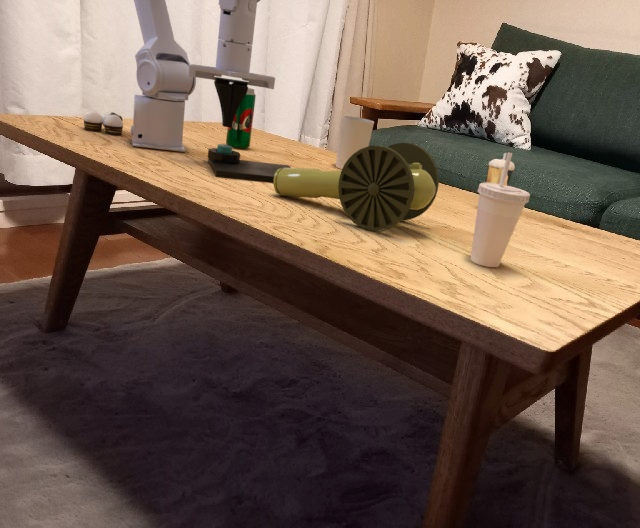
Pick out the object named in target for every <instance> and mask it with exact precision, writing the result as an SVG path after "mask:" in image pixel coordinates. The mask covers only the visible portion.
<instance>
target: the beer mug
mask: <svg viewBox="0 0 640 528" xmlns="http://www.w3.org/2000/svg"><path fill="white" fill-rule="evenodd" d="M507 154H508V152H504V153H503V157H502V159H498V158H494V159H491V160H490V161H489V162H488V166H487V172H486V179H485V183H495V184H500V180H501V176H502V173H503V169H504V165H505V162H506V158H507ZM515 169H516V165H515V163H514V162H513V161H512V160H511V161H510V165H509V168H508V172H507V176H506V179H505V183H504V185H507V186H509V184H510V182H511V180H512V178H513V177H512V176H513V174H514V171H515Z"/></svg>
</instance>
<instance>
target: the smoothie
mask: <svg viewBox="0 0 640 528" xmlns="http://www.w3.org/2000/svg"><path fill="white" fill-rule="evenodd" d="M512 157H513V152H507V155H506V159H505V160H506V162H505V165H504V169H503V173H502V176H501V180H500V184H495V183H486V182H480V183H479V185H478V189H477V193H478V194H479V195H478V201H477V208H476V215H475V222H474V223H475V224H474V229H473V231H474V232H473V238H472V245H471V252H470V254H471V255H470V261H471V262H472V263H474V264H476V265H479V266H483V267H488V268H498V267H499V266H500V264H501V261H502V259H503V256H504V255H505V253H506V251H507V248H508V245H509V243H510V241H511V239H512V236H513V234H514V231H515V229H516V227H517V224H518V222H519V220H520V217H521V215H522V212H523V210H524V208H525V205H526V204H528V203H529V202H530V197H531V194H530V192H528V191H526V190H524V189H521V188H518V187H515V186H510V185H508V186H507V185H504V183H505V179H506V176H507V172H508V168H509V165H510V161H511V162H512Z"/></svg>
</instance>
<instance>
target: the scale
mask: <svg viewBox="0 0 640 528" xmlns="http://www.w3.org/2000/svg"><path fill="white" fill-rule="evenodd" d="M207 163H208V165H209V166H210V168H211V170H212V172H213V173H214V175H215V177H217V178H227V179H236V180H245V181H246V180H247V181H254V182H255V181H256V182H267V183H273V182H274V175H275V173H276V171H277V170H278V169H283V168H292V167H291V166H290V165H288V164H280V163H272V162H271V163H270V162H264V161H263V162H262V161H253V160H246V159H245V160H244V159H241V153H240V152H239V151H236V150H233V149H232V154H228V153H221V152H217V147H211V148H208V150H207Z"/></svg>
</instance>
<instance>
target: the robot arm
mask: <svg viewBox="0 0 640 528" xmlns="http://www.w3.org/2000/svg"><path fill="white" fill-rule="evenodd" d="M260 1H261V0H218V5H219V9H220V12H219V13H220V14H219V25H218V37H217V39H218V40H217V48H216V58H215V66H209V65H201V64H196V63H195V64H194V63H191V62H190V60H189V56H188V53H187V51H186V50H185V49H184V48H183V47H182V46H181V45H180V44H179V43H178V42H177V41H176V40H175V36H174V32H173V28H172V27H173V26H172V23H171V19H170V14H169V11H168V5H167V2H166V0H133V2H134V3H133V4H134V7H135V12H136V15H137V20H138V24H139V28H140V31H141V32H140V33H141V37H142V40H143V41H142V42H143V45H142V46H141V47H140V48H139V50H138V51H137V52H136V53H135V56H134V58H135V63H136V82H137V85H138V87H139V89H140V90H141V94H134V96H133V97H134V98H133V116H132V120H133V121H132V125H131V126H130V136H131V139H132V146H133V147H136V148H145V149H153V150H164V151H171V152H181V153H185V152H186V148H185V145H184V143H183V137H184V123H185V122H184V121H185V109H186V101H189V96H191V95H192V93H194V91H195V88H196V86H197V78H198V79H204V80H206V79H207V80H211V81H213V84H214V88H215V90H216V93H217V97H218V100H219V101H218V102H219V105H220V110H221V119H222V120H221V121H222V122H221V123H222V124H221V125H222V126H223V128H227V127H230V128H232V124H233V120H234V117H235V114H236V112H237V109H238V107H239V105H240V103H241V101H242V100H243V98H244V96H245V95H246V93H247V91H248V88H249V87H248V86H253V87H259V88H263V89H264V88H266V89H269V90H274V89H275V81H276V77H275V76H271V75H266V74H261V73H260V74H259V73H253V72H250V71H251V70H250V69H251V62H252V53H253V44H254V34H255V25H256V24H255V23H256V17H257V16H256V15H257V7H258V3H259V2H260ZM222 76H225V77H230V78H225V77H222ZM231 77H232V78H238V79H232V78H231ZM240 79H241V80H240Z"/></svg>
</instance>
